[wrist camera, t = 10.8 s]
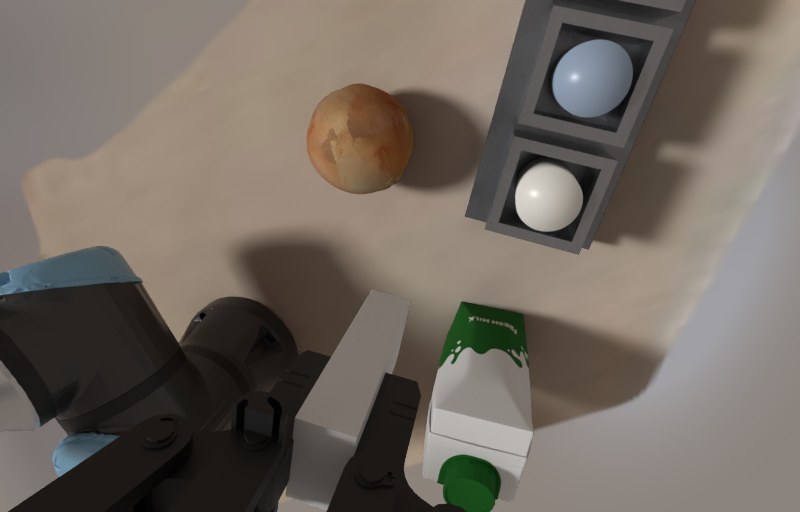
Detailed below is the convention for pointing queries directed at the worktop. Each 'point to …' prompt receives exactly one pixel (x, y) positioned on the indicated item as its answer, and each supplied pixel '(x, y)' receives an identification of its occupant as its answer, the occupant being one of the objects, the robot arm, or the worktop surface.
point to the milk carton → (480, 409)
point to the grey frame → (559, 129)
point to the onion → (360, 139)
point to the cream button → (547, 195)
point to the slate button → (591, 78)
